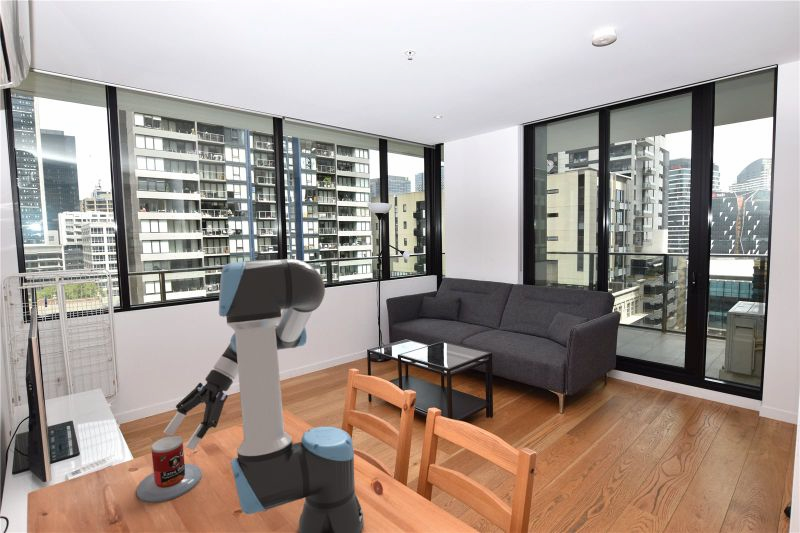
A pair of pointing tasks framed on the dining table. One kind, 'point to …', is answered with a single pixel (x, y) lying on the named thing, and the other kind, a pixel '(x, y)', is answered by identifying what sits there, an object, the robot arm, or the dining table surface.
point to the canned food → (168, 461)
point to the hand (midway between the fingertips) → (177, 441)
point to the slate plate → (153, 493)
